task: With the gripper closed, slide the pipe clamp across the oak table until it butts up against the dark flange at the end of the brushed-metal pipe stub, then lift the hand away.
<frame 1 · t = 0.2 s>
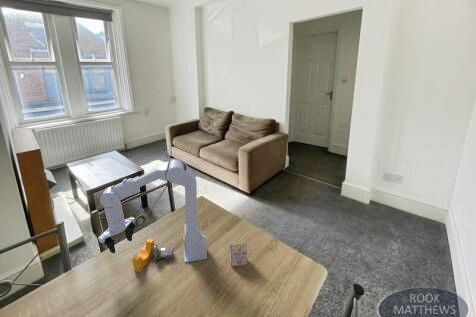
hand: (121, 246, 95), 10 cm above the table, fingers open, 7 cm apart
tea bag: (238, 262, 100), on the table
pipe clamp: (143, 260, 102), on the table
pipe fixture: (165, 256, 103), on the table
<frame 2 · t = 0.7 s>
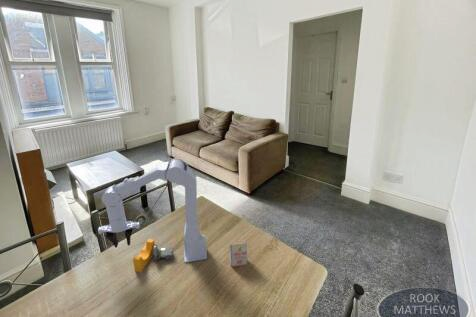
hand: (122, 244, 96), 9 cm above the table, fingers open, 4 cm apart
nothing on the table moved.
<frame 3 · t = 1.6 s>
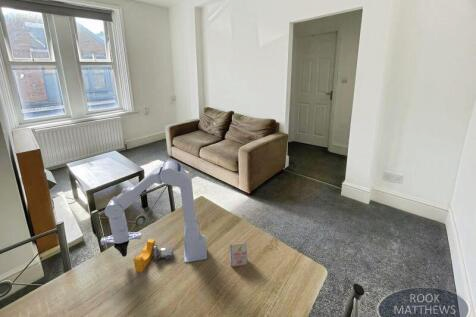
hand: (124, 254, 98), 4 cm above the table, fingers closed
nothing on the table moved.
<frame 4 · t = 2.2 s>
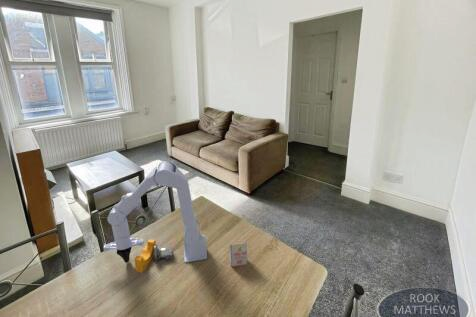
hand: (127, 260, 100), 1 cm above the table, fingers closed
nothing on the table moved.
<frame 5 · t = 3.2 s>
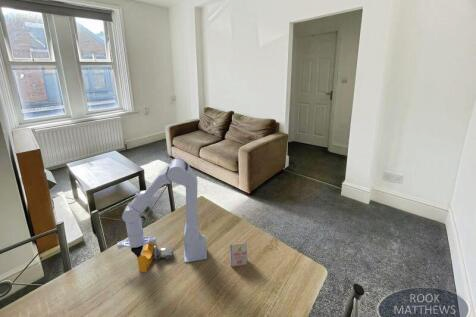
hand: (139, 258, 101), 1 cm above the table, fingers closed
pipe clamp: (147, 260, 101), on the table, touching gripper, pipe fixture
everything else where it was.
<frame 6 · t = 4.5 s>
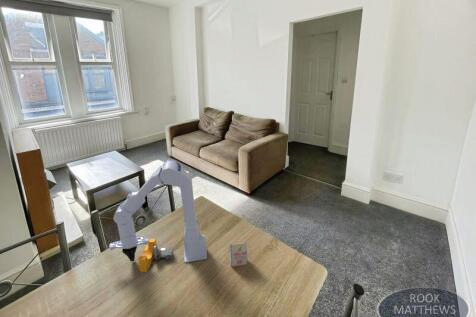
hand: (132, 259, 100), 1 cm above the table, fingers closed
pipe clamp: (147, 261, 101), on the table
everything else where it was.
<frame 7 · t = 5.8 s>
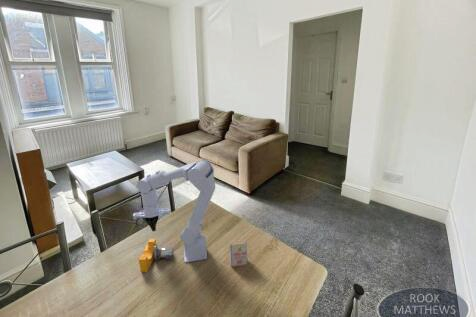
hand: (154, 229, 105), 9 cm above the table, fingers closed
nothing on the table moved.
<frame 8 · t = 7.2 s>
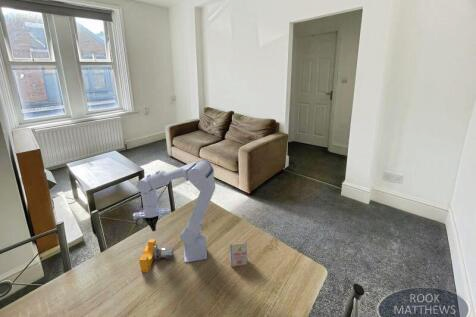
hand: (154, 229, 105), 9 cm above the table, fingers closed
nothing on the table moved.
at the end: pipe clamp 1.1 cm from the target spot, on the table; pipe clamp tilted 0°; pipe clamp moved 2.1 cm from its start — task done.
